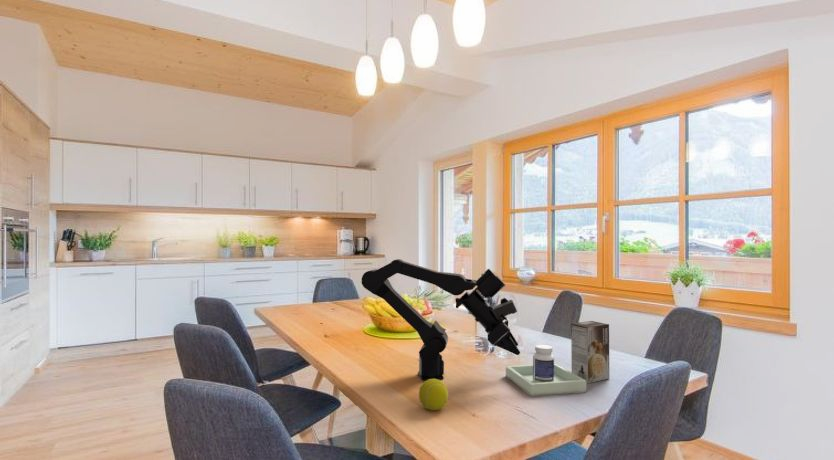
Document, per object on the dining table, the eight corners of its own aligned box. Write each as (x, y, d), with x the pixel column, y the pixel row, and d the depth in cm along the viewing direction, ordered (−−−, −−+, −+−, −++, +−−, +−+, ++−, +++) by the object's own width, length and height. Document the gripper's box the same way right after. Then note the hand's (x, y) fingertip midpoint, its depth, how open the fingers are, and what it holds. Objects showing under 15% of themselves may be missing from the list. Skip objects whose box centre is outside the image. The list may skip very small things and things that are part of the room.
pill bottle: (558, 384, 120) (558, 348, 120) (540, 386, 118) (540, 350, 118) (545, 377, 125) (546, 343, 125) (528, 379, 123) (529, 344, 123)
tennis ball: (452, 413, 101) (452, 383, 101) (423, 416, 99) (424, 385, 99) (442, 401, 108) (442, 373, 108) (415, 404, 106) (415, 376, 106)
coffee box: (592, 372, 132) (592, 320, 132) (610, 379, 126) (610, 324, 126) (570, 377, 127) (570, 322, 128) (588, 383, 122) (588, 327, 122)
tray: (531, 396, 112) (531, 384, 112) (505, 376, 128) (505, 366, 128) (586, 392, 115) (586, 380, 115) (554, 373, 131) (554, 363, 131)
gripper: (501, 294, 115) (543, 338, 113) (499, 286, 133) (535, 324, 131) (470, 322, 116) (511, 366, 114) (473, 310, 134) (508, 348, 132)
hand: (518, 349), depth 123 cm, fingers open, 9 cm apart
